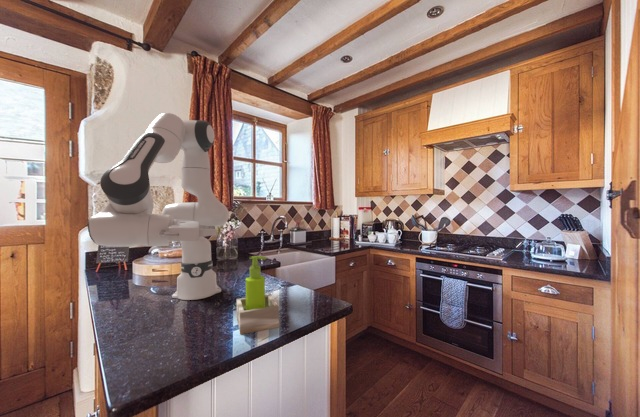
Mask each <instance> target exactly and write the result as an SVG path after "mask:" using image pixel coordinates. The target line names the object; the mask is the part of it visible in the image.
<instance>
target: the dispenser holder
mask: <svg viewBox="0 0 640 417" xmlns="http://www.w3.org/2000/svg"><path fill="white" fill-rule="evenodd" d="M235 302H236V320H237V325H238V330H239V335H245V334H249V333H250V334H251V333H254V332H255V333H256V332H259V331H265V330H270V329H277V328H280V306H279V304H278V303H277V301H276V300H275V298H274V297H273V296H272V294H271V293H269V294H265V308H258V309H252V310H246V297H242V298H240V297H239V298H236V301H235Z"/></svg>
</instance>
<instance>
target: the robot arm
mask: <svg viewBox="0 0 640 417" xmlns="http://www.w3.org/2000/svg"><path fill="white" fill-rule="evenodd" d="M214 130H215V129H214V128H213V125H212V124H211V123H210V122H209V121H207V120H202V119H198V120H195V119H194V120H193V119H182V118H181V117H179V116H178V115H176V114H174V113H170V112H164V113H160V114H158V116H156V117H155V118H154V119H153V121H152V122H151V123H150V124H149V126H148V127H147V128H146V130H145V132H144V133H143V134H142V135H140V137H138V139H137V140H136V141H135V142H134V143H133V145H132V146H131V148H130V149H129V150H128V151H127V153H126V154H125V155H124V157H123V158H122V159H121V160H120V161H118V163H115V165H114V164H113V166H112V167H110V168H108V169H107V170H106V171H105V172H104V173H103V174H102V176H101V177H100V183H99V185H100V188H101V190H102V192H103V193H104V195H105V196H106V197H107V199H108V203H107V205H106V206H105V207H103V208H102V209H101V210H100V211H99V212H97V213H96V214H93V215H92V216H90V217H89V219H88V220H87V231H88V234H89V237H90V239H91V241H92V242H93V244H96V245H97V246H101V247H111V248H113V247H114V248H115V247H116V248H125V247H127V248H130V247H136V246H145V247H168V246H170V244H171V242H180V246H181V259H182V261H181V263H180V271H181V273H180V274H179V275H178V276H177V278H176V291H175V292H173V294H172V295H171V298H172V299H178V300H183V301H190V300H191V301H194V300H201V299H206V298H209V297H211V296H214V295H216V294H219V293H221V292H222V288H221V287H220V286H219V285H218V284H217V282H218V281H217V273H216V272H215V271H214V270H213V260H212V244H211V241H210V239H208V238H206V237H209V236H210V237H211V236H217V235H218V230H217V229H216V228H219V227H223V226H225V225H226V223H228V220H229V217H230V214H229V213H230V212H229V209H228V207H227V206H226V204H224V203H222V202H221V201H220V200H219V199H218V198H217V197H216V195H215V194H214V192H213V189H212V184H211V183H212V182H211V162H210V155H209V152H208V151H209V150H210V148H212V146H213V145H214V143H215V138H216V136H215V131H214ZM181 150H183V151H182V156H181V164H180V165H181V167H180V168H181V169H180V170H181V171H180V172H181V177H180V178H181V187H182V189H183V190H184V191H185V192H187V193H189V194H190V195H192V196H195V197H196V198H197V201H196V202H192V201H191V202H174V203H169V204H166V205H165V206H164V207H163V209H162V211H161V214H153V210H154V200H153V196H152V192H151V190H152V189H151V186H150V183H151V182H150V177H149V172H150V169H151V168H152V167H153V165H154V163H157V164H168V163H171V162H173V161H174V160H175V159H176V158H177V156H178V154H179V152H180V151H181Z"/></svg>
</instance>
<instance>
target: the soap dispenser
mask: <svg viewBox="0 0 640 417" xmlns="http://www.w3.org/2000/svg"><path fill="white" fill-rule="evenodd" d="M267 259H268V257H267V256H262V255H252V256H249V260H251V262H252V263H251V265H250V267H249V276H248V277H246V278H245V298H246V310H252V309H258V308H265V295H266V281H265V276H263V275H261V266H260V265H259V262H258V261H259V260H261V261H262V260H263V261H265V260H267Z"/></svg>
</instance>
